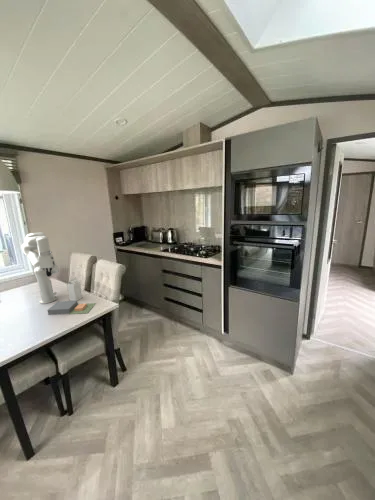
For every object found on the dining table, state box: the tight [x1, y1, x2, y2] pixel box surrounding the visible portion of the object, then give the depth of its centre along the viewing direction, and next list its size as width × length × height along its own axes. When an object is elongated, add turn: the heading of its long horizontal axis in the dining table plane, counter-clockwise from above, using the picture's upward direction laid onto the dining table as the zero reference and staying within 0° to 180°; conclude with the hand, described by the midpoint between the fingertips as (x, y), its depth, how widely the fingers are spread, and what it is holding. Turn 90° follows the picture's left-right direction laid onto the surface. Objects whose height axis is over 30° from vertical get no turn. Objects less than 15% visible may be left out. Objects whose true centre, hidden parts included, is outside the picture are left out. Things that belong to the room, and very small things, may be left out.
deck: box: [46, 300, 79, 316], centre depth 172 cm, size 14×16×4 cm
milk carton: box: [66, 277, 83, 302], centre depth 188 cm, size 7×7×19 cm
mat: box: [68, 302, 96, 315], centre depth 172 cm, size 16×14×1 cm
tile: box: [75, 302, 88, 311], centre depth 172 cm, size 8×6×2 cm
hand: (49, 276), depth 171 cm, fingers closed
